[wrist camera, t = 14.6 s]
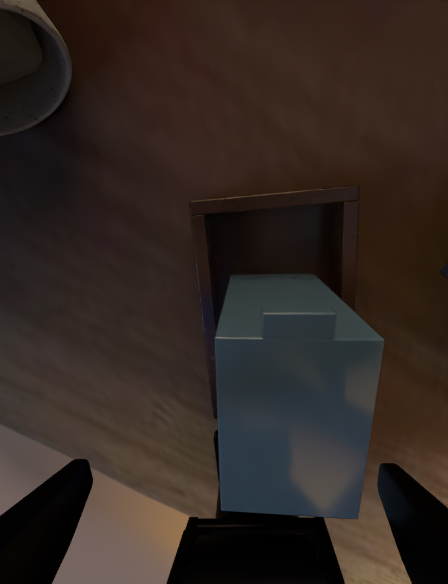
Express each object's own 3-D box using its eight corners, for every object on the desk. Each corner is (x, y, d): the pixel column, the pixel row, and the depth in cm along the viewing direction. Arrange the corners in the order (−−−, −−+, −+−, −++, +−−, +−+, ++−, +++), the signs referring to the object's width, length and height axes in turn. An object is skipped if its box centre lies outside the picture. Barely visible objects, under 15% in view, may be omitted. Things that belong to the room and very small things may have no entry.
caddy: (335, 389, 21) (349, 417, 19) (217, 392, 22) (213, 419, 19) (341, 189, 17) (360, 184, 15) (197, 202, 18) (188, 201, 15)
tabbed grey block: (315, 259, 18) (389, 313, 9) (305, 400, 21) (353, 554, 12) (230, 260, 19) (213, 312, 9) (232, 398, 22) (221, 545, 12)
